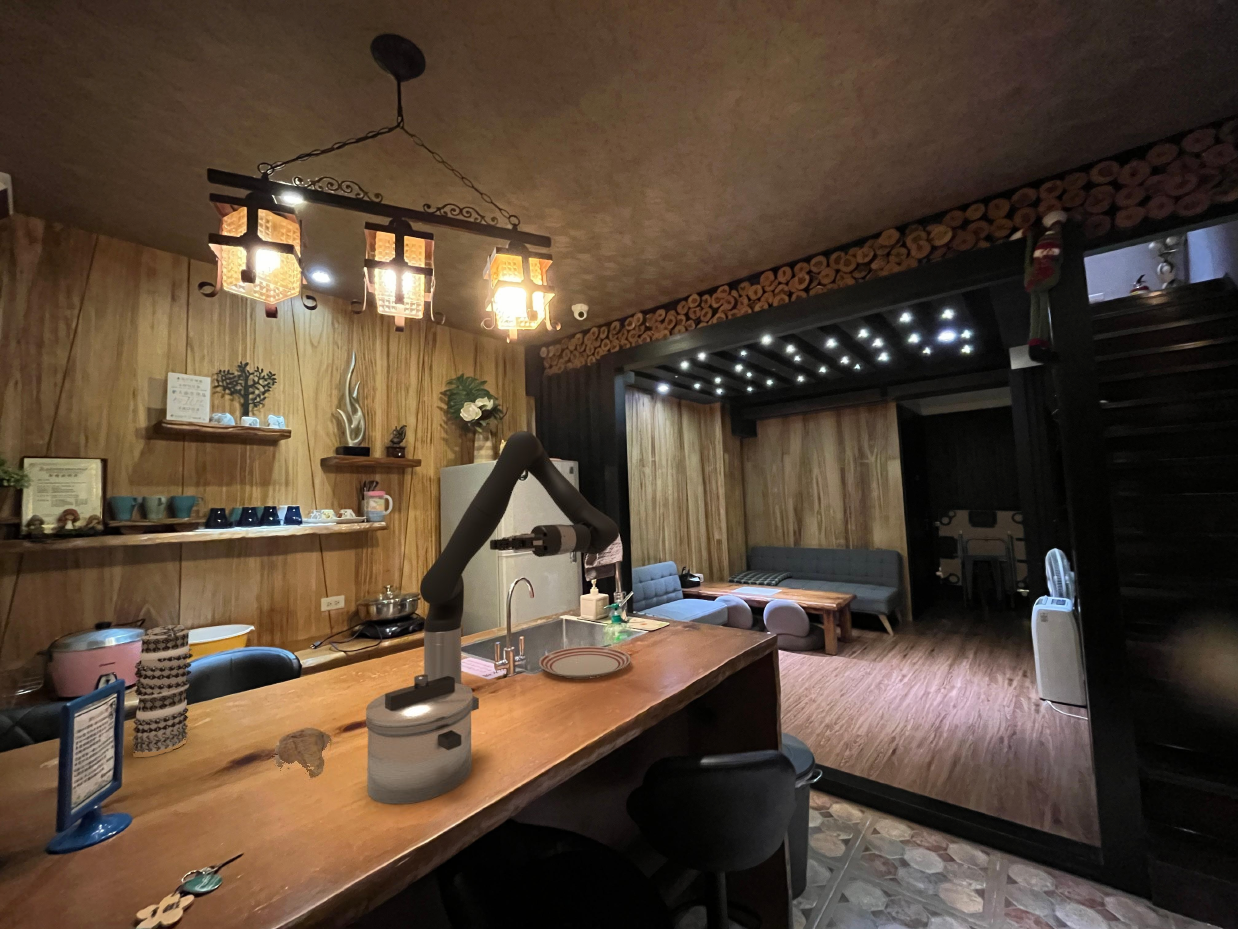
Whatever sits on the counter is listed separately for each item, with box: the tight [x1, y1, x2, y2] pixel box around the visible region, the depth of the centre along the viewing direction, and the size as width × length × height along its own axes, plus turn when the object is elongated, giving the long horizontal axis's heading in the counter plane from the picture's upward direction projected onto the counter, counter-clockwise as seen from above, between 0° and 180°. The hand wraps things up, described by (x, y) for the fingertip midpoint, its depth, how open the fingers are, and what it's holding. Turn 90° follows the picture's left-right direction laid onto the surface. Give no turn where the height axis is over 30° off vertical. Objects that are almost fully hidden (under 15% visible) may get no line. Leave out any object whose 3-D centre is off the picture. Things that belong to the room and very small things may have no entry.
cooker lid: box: [365, 673, 474, 727], centre depth 92 cm, size 18×18×5 cm
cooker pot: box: [365, 695, 480, 805], centre depth 91 cm, size 22×19×12 cm
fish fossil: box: [273, 726, 331, 779], centre depth 100 cm, size 26×10×1 cm, turn 40°
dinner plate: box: [538, 645, 632, 679], centre depth 150 cm, size 27×27×3 cm
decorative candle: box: [131, 624, 194, 753], centre depth 107 cm, size 9×9×25 cm
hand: (491, 544), depth 110 cm, fingers closed
